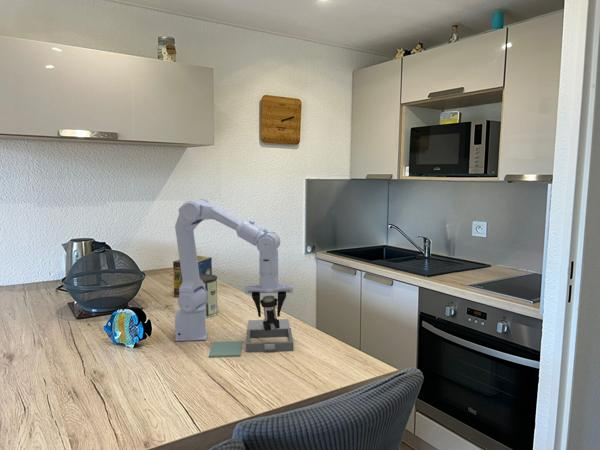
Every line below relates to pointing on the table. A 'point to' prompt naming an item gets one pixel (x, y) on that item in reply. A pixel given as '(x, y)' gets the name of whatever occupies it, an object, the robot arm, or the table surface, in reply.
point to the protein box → (203, 266)
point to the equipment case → (269, 346)
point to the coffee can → (210, 294)
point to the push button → (269, 313)
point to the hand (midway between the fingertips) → (269, 315)
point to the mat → (226, 349)
